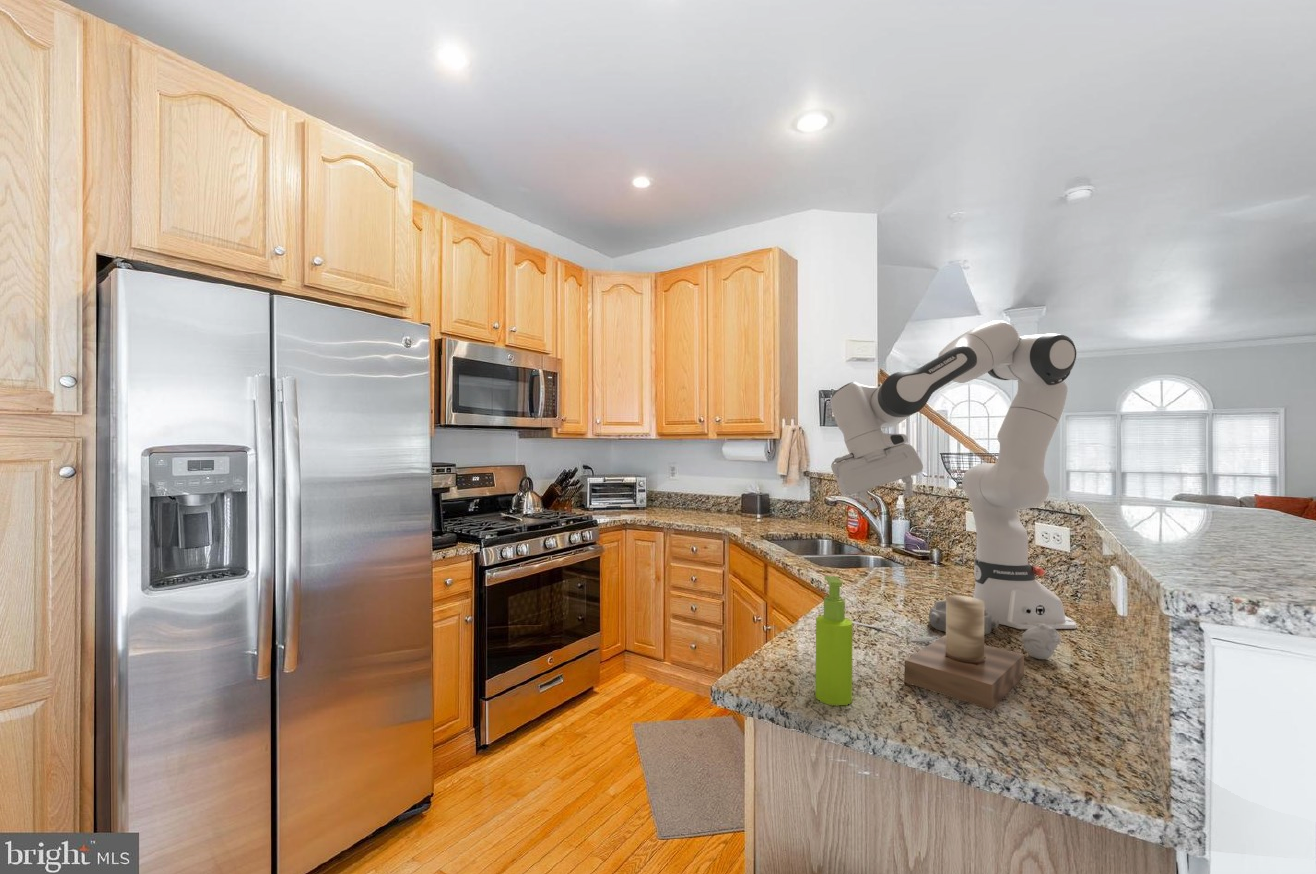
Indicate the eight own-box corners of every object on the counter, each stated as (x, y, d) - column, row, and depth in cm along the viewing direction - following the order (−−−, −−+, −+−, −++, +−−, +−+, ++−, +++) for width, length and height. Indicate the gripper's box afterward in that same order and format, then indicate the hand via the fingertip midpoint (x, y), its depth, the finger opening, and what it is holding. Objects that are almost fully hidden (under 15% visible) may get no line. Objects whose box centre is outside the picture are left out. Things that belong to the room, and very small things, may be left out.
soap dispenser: (845, 688, 97) (846, 574, 97) (855, 707, 90) (856, 584, 90) (811, 686, 97) (812, 573, 98) (818, 705, 90) (820, 582, 91)
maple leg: (974, 670, 104) (975, 596, 105) (991, 684, 98) (991, 605, 98) (939, 668, 105) (940, 594, 105) (953, 682, 99) (954, 604, 99)
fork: (839, 618, 139) (839, 610, 139) (938, 645, 120) (938, 637, 120) (832, 620, 137) (832, 613, 137) (931, 649, 118) (931, 640, 118)
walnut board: (944, 654, 114) (944, 635, 114) (1024, 675, 104) (1024, 654, 104) (904, 682, 100) (904, 660, 100) (991, 709, 90) (991, 685, 90)
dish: (932, 634, 127) (932, 612, 127) (922, 617, 140) (922, 597, 140) (1004, 642, 122) (1004, 619, 122) (986, 623, 136) (986, 602, 136)
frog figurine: (1068, 664, 110) (1068, 629, 110) (1034, 664, 109) (1035, 629, 109) (1045, 652, 116) (1045, 619, 116) (1013, 653, 115) (1013, 619, 115)
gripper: (833, 457, 127) (857, 514, 124) (912, 432, 130) (937, 487, 126) (823, 463, 133) (846, 518, 130) (899, 439, 136) (923, 492, 132)
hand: (891, 503), depth 128 cm, fingers open, 8 cm apart
